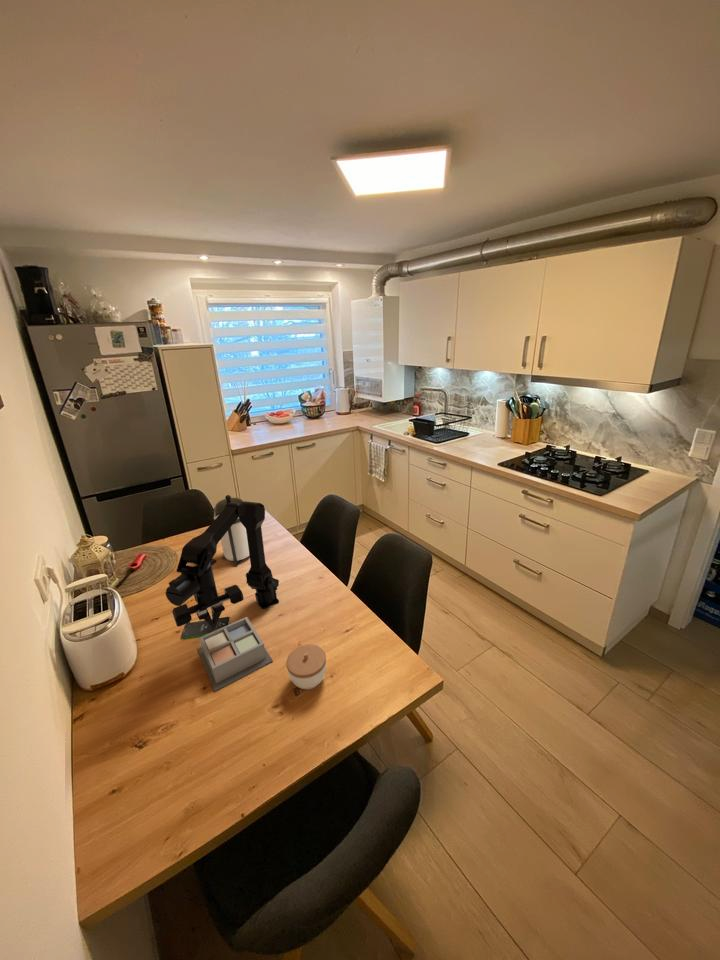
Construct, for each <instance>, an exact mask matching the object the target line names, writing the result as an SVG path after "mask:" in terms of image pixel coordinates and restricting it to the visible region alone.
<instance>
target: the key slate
mask: <svg viewBox="0 0 720 960" xmlns="http://www.w3.org/2000/svg"><path fill="white" fill-rule="evenodd" d="M247 632H249V630H248V628H247V626H246V625H244V626H242V627H239V628H237V629H235V630H233V631H230V632H229V634H230V636H231V638H232V639H234V638H236V637H238V636H240V635H242V634H245V633H247Z"/></svg>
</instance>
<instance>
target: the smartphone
mask: <svg viewBox="0 0 720 960" xmlns="http://www.w3.org/2000/svg"><path fill="white" fill-rule="evenodd" d="M230 621H231V617H230V616H224V617H219V620H218V623H217V626H216V628H214V629H213V628H212V627H211V626H210V625H209V623H208V622H206V621H205V620H204V619H202V620H198V621H190V622H189V623H187V624H185V625H183V626H184V627H183V629H182V633H181V635H180V639H181V640H182V639H184V640H190V639H196V638H200V637H202V636H204V635H207V634H209V633H211V632H213V631H216V630H218V629H220V628H222V627H225V626H227V625H229V624H231V623H230Z"/></svg>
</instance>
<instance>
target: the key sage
mask: <svg viewBox="0 0 720 960" xmlns="http://www.w3.org/2000/svg"><path fill="white" fill-rule="evenodd" d="M256 645H258V642H257V641H256V639H255V637H254V636H253V635H251V636H249V637H246V638H244V639H242V640H240V641H238V642H236V643H235V646H236V648H237V649H238V651H239V653H242V652H244V651H246V650H248V649H250V648H252V647H254V646H256Z"/></svg>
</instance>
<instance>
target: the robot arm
mask: <svg viewBox="0 0 720 960" xmlns="http://www.w3.org/2000/svg"><path fill="white" fill-rule="evenodd" d="M238 518H239V519H240V522H241V523H242V524H243V526H244V527H245V528H246V533H247V541H248V548H249V561H250V562H249V563H250V568H249V570H248V571H247V572H246V574H245V577H246V579H245V580H246V584H247V585H248V587H250V588H251V589H252V590H255V592H254V595H255V596H254V597H255V602H256V604H257V605H258V606H259V607H260V608H261V609H262V610H265V609H267V608H270V607H272V606H274V605H276V604H278V603H280V600H279V599H278V597H277V590H278V587H279V585H280V584H279V581H280V580H279V579H278V578H274V577H273V573H272V570H271V568H270V567H269V566H268V565H267V563H266V554H265V548H264V547H265V546H264V540H263V532H262V531H263V530H262V525H263V523H264V521H265V518H266V507H265V506H264V504H263V503H261V502H253V501H246V500H243V502H242V503H233V502H230V503H227V504H226V506H225V509H224V510H223V511H222V512H221V513H220V515H219V516H218V517H217V518H216V519H213V521H212V522H211V524H210V525H209V526H208V527H207V528H206V529H205V530H204V532H202V533H201V534H199V535H197V536H195V537H193V538H191V539H190V540H189V541H188V542H187V543H186V544H184V546H183V547H182V549H181V554H180V557H179V561H178V564H177V568H176V572H177V573H180V575H179V576H177V577H176V578H174V579H172V580H171V581H168V587H167V588H166V589H165V596H166V598H167V599H166V600H168V601H169V602H170V604H172V605H174V606H176V607H173V609H172V610H171V612H172V616H173V619H174V622H175V624H176V627H182V626H185V625H186V624H187V623H191V622H192V619H193V618H192V615H193V614H196V616H197V618H198V621H203V620H205V621H206V622H208V623H209V625H210V626H211V627H212V628H213V629H214V628H216V626H217V623H218V620H219V618H221V617H220V616H221V615H222V613H223V612H224V611H225V610H226V606H225V605H224V603H225V602H228V601H229V602H230V604H232V605H235V604H238V603H240V602H243V600H244V594H243V591H242V589H241V588H240V587H239V586H238V585H237V584H233V585H230V586H228V587H225V588H224V589H223V592H224V593H223V594H218V590H217V586H216V585H217V584H216V580H215V577H214V571H213V567H212V566H214V565H215V564H216V563H217V561H218V560H217V559H214V557H215V555H216V554H217V550H218V549H217V548H218V547H217V546H218V544H219V542H220V541H221V539H222V537H223V536H224V535H225V534H226V532H227V531H228V530H229V529H230V527H231V526H232V525H233V524H234V522H235V521H236V520H237V519H238ZM188 564H191V565H194V566H191V565H188ZM192 597H194V601H195V602H196V604H194V605H192V606H189V607H188V604H187V603H186V601H188V600H190V599H191V598H192ZM208 609H210V610H211V615H210V612H209V610H208Z"/></svg>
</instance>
